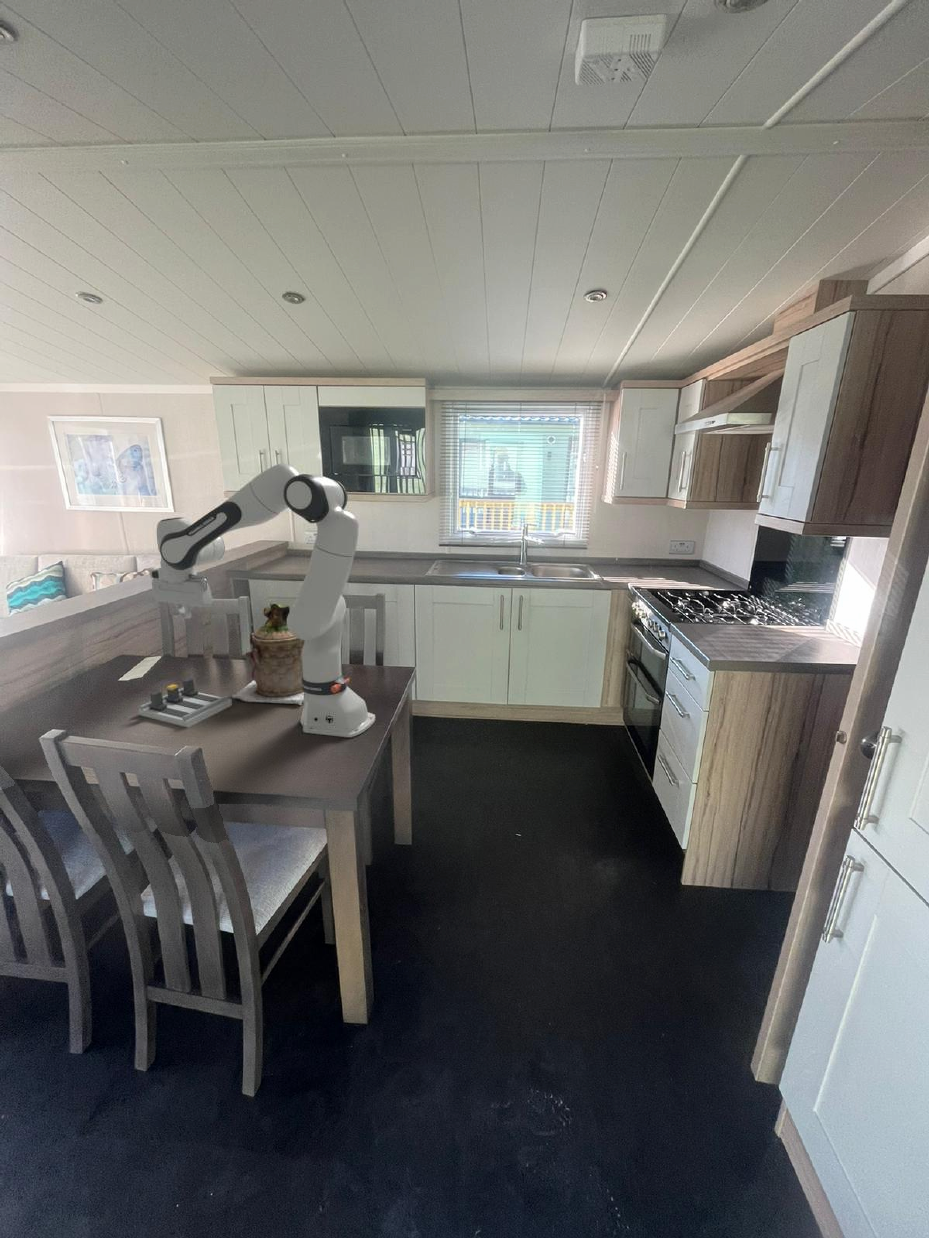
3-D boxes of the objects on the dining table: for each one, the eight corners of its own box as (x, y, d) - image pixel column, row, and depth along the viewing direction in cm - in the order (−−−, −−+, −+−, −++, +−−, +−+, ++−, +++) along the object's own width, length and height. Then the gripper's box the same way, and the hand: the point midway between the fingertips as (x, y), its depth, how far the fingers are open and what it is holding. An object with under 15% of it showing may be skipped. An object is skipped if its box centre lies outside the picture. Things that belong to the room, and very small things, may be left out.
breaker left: (167, 707, 144) (164, 692, 143) (160, 710, 142) (158, 695, 141) (155, 704, 146) (153, 689, 145) (148, 707, 144) (146, 692, 143)
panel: (231, 705, 152) (230, 696, 151) (188, 727, 137) (186, 717, 137) (186, 694, 159) (184, 686, 158) (139, 715, 144) (138, 705, 143)
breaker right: (198, 693, 154) (196, 679, 153) (192, 695, 152) (190, 682, 151) (187, 690, 156) (185, 677, 154) (181, 693, 154) (178, 679, 152)
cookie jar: (330, 678, 175) (325, 594, 167) (302, 707, 152) (295, 611, 143) (267, 674, 178) (259, 591, 169) (229, 702, 154) (218, 607, 145)
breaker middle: (183, 699, 149) (181, 685, 148) (176, 702, 147) (174, 688, 146) (171, 697, 151) (169, 683, 150) (165, 700, 149) (163, 686, 148)
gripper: (214, 574, 139) (220, 619, 143) (164, 568, 146) (171, 611, 150) (196, 577, 134) (202, 624, 137) (145, 571, 141) (152, 616, 144)
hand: (185, 617), depth 144 cm, fingers closed
